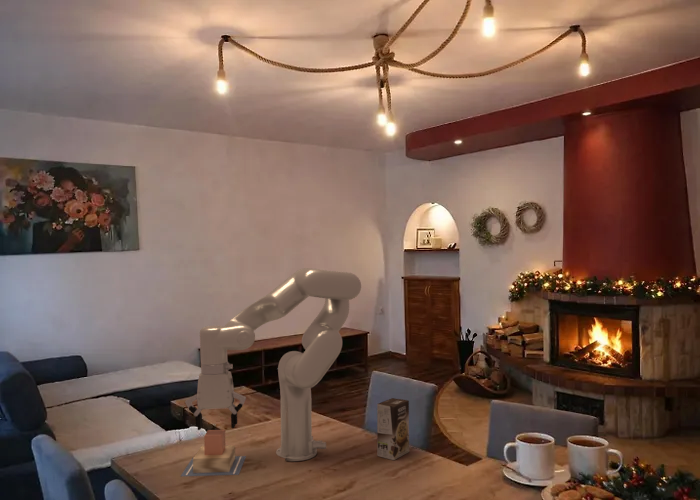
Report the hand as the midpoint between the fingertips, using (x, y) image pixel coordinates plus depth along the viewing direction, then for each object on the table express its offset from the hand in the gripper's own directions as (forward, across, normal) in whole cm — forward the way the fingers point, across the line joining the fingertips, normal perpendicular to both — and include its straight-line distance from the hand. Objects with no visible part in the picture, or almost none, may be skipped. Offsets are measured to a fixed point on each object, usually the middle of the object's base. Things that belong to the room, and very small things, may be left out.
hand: (216, 427), depth 158 cm
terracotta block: (+7, +1, 0) cm, 7 cm away
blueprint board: (+12, +1, 0) cm, 12 cm away
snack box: (+14, -52, -8) cm, 54 cm away
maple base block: (+11, +1, 0) cm, 11 cm away
